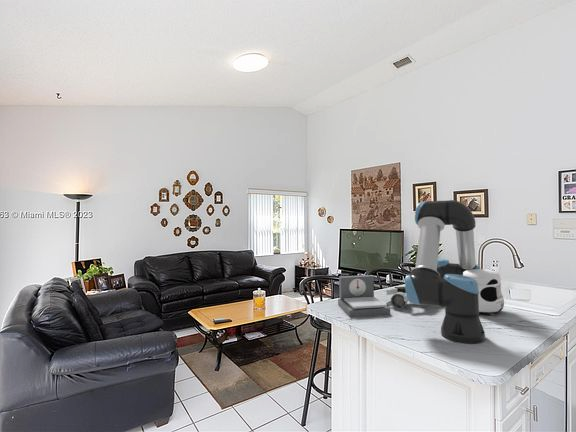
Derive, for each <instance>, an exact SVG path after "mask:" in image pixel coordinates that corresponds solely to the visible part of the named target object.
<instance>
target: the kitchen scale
mask: <svg viewBox="0 0 576 432" xmlns="http://www.w3.org/2000/svg"><path fill="white" fill-rule="evenodd" d="M338 279H339V281H338V282H339V283H338V284H339V285H338V288H339V289H338V290H339V298H338V299H337V305H338V306H339V308H341V310H343V312H344V313H345V314H346V315H347V316H348V317H349V318H353V317H370V316H371V317H372V316H385V315H386V316H389V315H391V308H390V307H389V306H387V305H386V303H384V302H382V301H381V300H380V299H378V298H376V297H375V292H374V291H375V286H374V284H375V283H374V275H373V274H366V275H365V274H363V275H346V276H345V275H343V276H342V275H341V276H339V277H338Z"/></svg>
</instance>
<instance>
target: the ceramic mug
mask: <svg viewBox="0 0 576 432" xmlns="http://www.w3.org/2000/svg"><path fill="white" fill-rule="evenodd" d="M405 295H406V293H403V292H397V293H396V294H392V296H391V297H390V301H387V302H386V303H385V305H386V306H388V307H389V306H392V307H393V308H394V309H396V310H402V309H404V308H405V307H406V305H407V304H408V302H409V301H404V296H405Z"/></svg>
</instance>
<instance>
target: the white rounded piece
mask: <svg viewBox="0 0 576 432" xmlns="http://www.w3.org/2000/svg"><path fill="white" fill-rule="evenodd" d="M463 276H467V277H470V278H473V279H475V280H476V281H477V283H478V290H479V294H478V297H479V314H496V313H500V312H502V310H503V309H504V305H505V299H504V296H503V293H502V282H501V274H500V273H499V272H498V271H496V270H491V269H482V268H480V269H472V270H467V271H464V272H463Z"/></svg>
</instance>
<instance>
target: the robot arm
mask: <svg viewBox="0 0 576 432" xmlns="http://www.w3.org/2000/svg"><path fill="white" fill-rule="evenodd" d="M414 213H415V215H414V222H415V224H416V225H417V226H418V228H419V229H420V230H419V237H418V246H417V253H416V260H415V267H414V268H412V269H411V271H410V274H406V275H405V279H404V286H394V288H388V289H386V295H387V296H391V295H394V294H396V293H397V292H403V293H405V294H406V295H405V296H404V301H408V302H409V303H410V304H414V305H418V306H429V307H438V308H445V310H444V311H445V312H444V313H445V314H444V318H443V321H442V323H441V327H440V334H441V336H443V337H444V338H446V339H448V340H449V341H454V342H459V343H463V344H478V343H479V344H480V343H483V342H485V340H486V333H485V330H484V327H483V324H482V321H481V319H480V313H479V297H478V294H479V290H478V283H477V281H476V280H475V279H473V278H470V277H467V276H463V272H464V271H467V270H472V269H481V265H480V264H476V251H475V238H474V237H475V235H474V234H475V233H474V229H475V228H476V218H475V216H474V214H473V212H472V210H471V209H470V208H469V207H468V206H467V205H466V204H464V203H462V202H461V201H458V200H454V199H452V200H451V199H449V200H448V199H447V200H427V201H426V200H425V201H420V202H419V203H417V205H416V208H415V212H414ZM445 226H452V228H453V230H455V236H456V238H455V239H456V247H457V257H458V263H452V262H451V263H450V260H449V259H446V258H445V259H444V258H439V251H440V242H441V241H440V238H441V232H442V231H443V230H444V228H445Z"/></svg>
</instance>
